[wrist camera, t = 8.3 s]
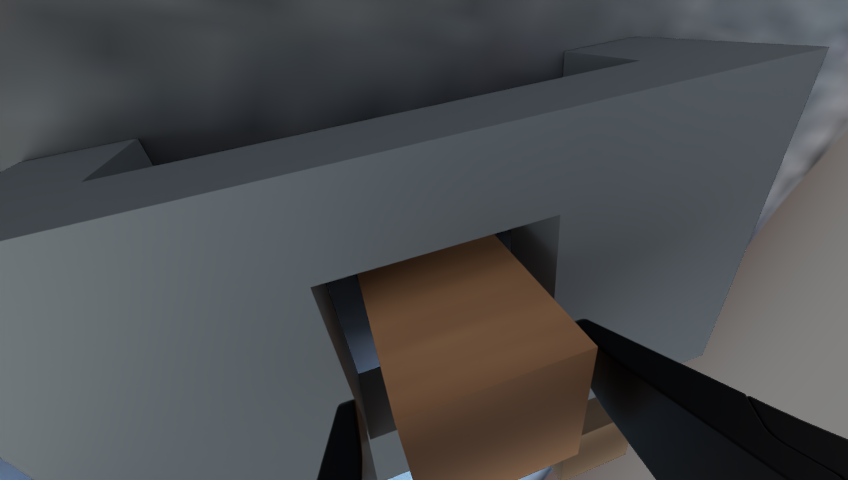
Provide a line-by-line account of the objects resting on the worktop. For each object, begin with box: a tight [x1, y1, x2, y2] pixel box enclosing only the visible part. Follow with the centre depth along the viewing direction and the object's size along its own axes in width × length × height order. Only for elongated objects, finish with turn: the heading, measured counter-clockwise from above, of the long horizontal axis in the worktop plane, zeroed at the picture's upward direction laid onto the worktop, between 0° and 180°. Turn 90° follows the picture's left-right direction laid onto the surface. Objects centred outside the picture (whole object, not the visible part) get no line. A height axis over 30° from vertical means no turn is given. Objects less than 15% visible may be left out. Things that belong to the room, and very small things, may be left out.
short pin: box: [551, 397, 629, 480], centre depth 21 cm, size 4×4×5 cm
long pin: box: [357, 234, 598, 480], centre depth 11 cm, size 4×4×9 cm
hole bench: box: [0, 37, 829, 480], centre depth 12 cm, size 11×20×6 cm, turn 98°
